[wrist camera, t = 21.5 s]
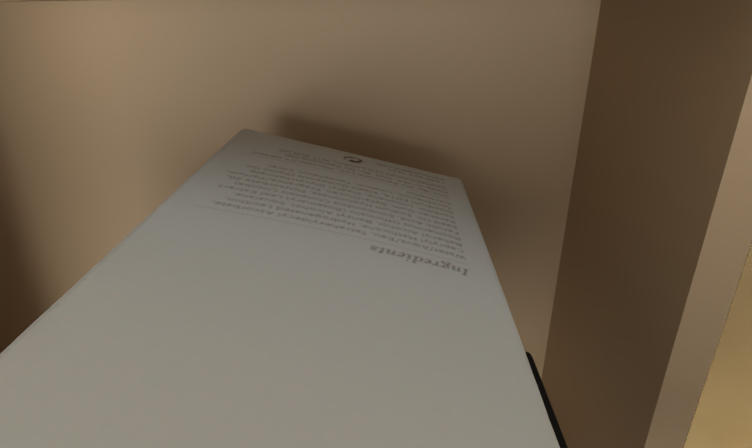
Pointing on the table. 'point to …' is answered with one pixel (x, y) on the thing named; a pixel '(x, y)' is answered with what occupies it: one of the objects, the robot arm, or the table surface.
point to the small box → (283, 319)
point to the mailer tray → (421, 157)
